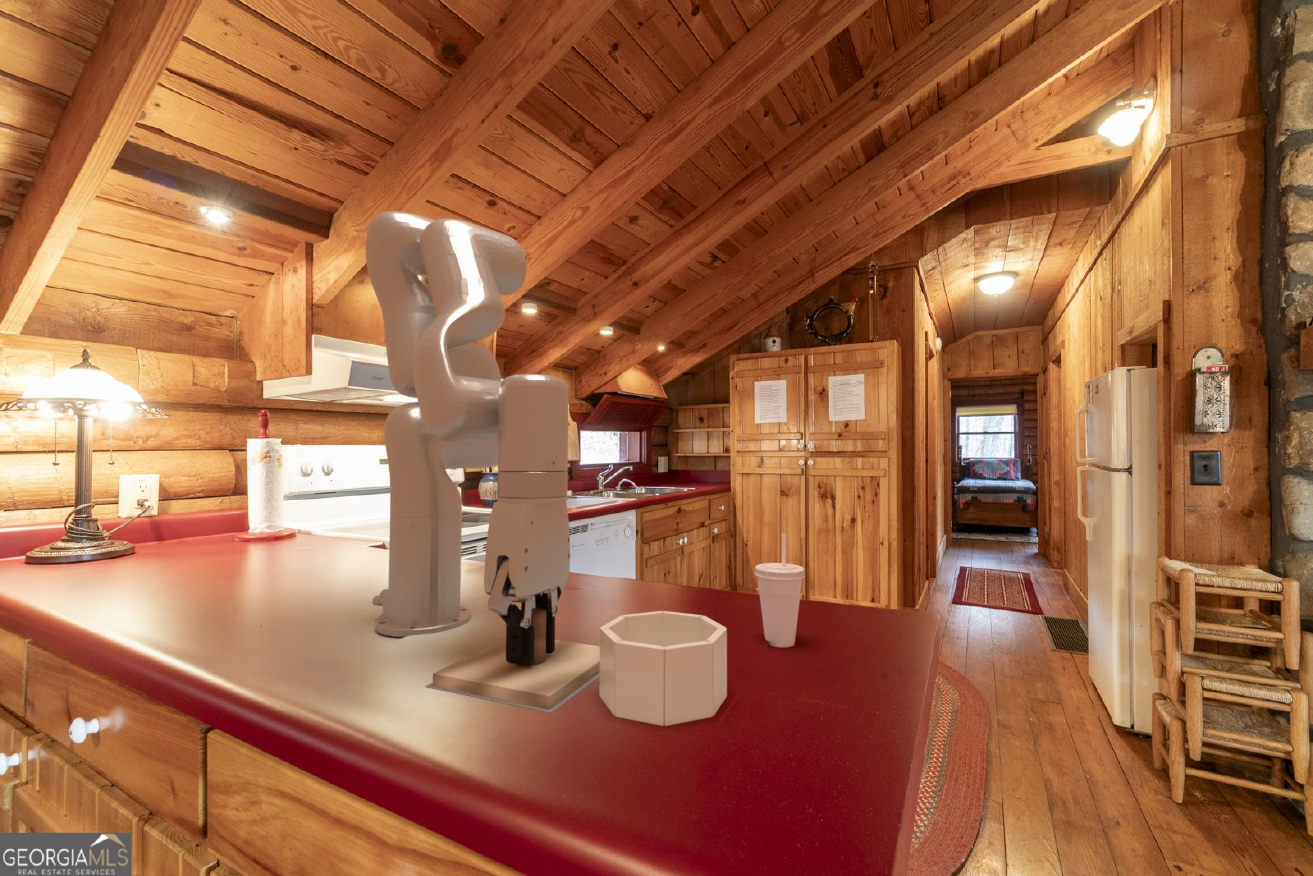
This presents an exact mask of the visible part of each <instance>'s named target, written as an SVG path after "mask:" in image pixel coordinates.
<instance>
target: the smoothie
mask: <svg viewBox="0 0 1313 876" xmlns="http://www.w3.org/2000/svg"><path fill="white" fill-rule="evenodd" d="M754 575H755V576H757V585H758V594H759V599H760V600H759V601H760V609H761V616H762V626H763V634H764V640H766V641H767V642H768V643H767V644H768V646H771V647H774V648H790V647H793V646H795V644H796V643H795V642H796V636H797V625H798V618H799V608H800V600H801V592H802V582H803V578H805V576H806V574H805V568H804V567H803V566H801V565H798V564H793V563H787V534H786V533H781V562H765V563H760V564H757V565H755V566H754Z"/></svg>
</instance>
